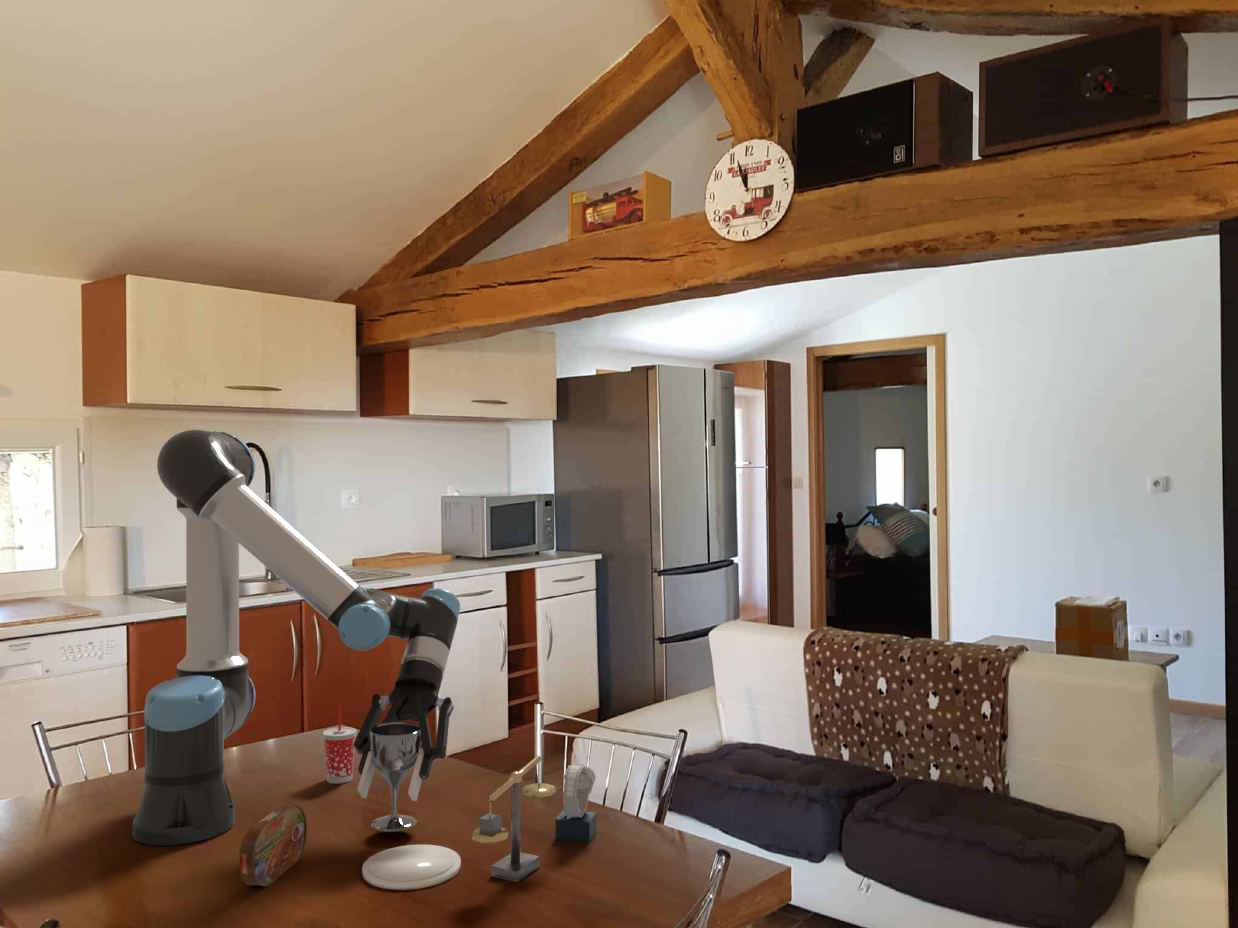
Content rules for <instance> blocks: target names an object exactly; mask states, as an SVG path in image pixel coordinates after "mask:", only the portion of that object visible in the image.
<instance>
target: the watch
mask: <svg viewBox="0 0 1238 928" xmlns="http://www.w3.org/2000/svg"><path fill="white" fill-rule="evenodd" d="M562 780H564V782H563V797H562V804H563V809H562V811H561V812H560V813H559V814H558V816H557V817H556V818H555V840H561V841H562V840H563V841H573V842H585V843H590V842H591V841H592V839H593V837H594V836H595V835H596V833H597V812H593V811H587V807H588V803H589V795H591V793H592V790H593V786H594V784H595V781H596V773H595V771H594V770H593V769H592V768H591V767H589V766H587V765H585V764H582V763H573V764H569V765H568V766H567V768H566V771H565V774H564V773H562Z"/></svg>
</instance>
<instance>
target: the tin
mask: <svg viewBox="0 0 1238 928" xmlns="http://www.w3.org/2000/svg"><path fill="white" fill-rule="evenodd" d="M307 830H308V826H307V819H306V814H305V811H304V810H303V809H302V807H300V806H299V805H290V806H285V805H284V806H279V807H277V808H275V809H274V810H273V811H271V812H269V813H268V814H267V815H265V816H264V817H263V818H262V819H260V820H258V821H257V822H256V823H254V824H253V825H252V826H250V827H249V828H248V830H246V832H245V834H244V835H243V838H242V840H241V843H240V847H239V850H238V851H239V852H238V855H239V871H240V872H239V873H240V878H241V880H242V881H243V883H244V884H246V885H247V886H253V887H254V886H255V887H256V886H257V887H259V886H260V887H268V886H270V885H272V884H273V883H274V882H275V881H277V879H279V878H280V877H281V876H283V874H284V873H286V872H287V871H288V870H289V869H291V868H292V867H293V866H294V865H295V864H297V862H298V861H299V860H300V858H301V857H302V854H303V853H304V849H305V847H306V841H307V832H308V831H307Z"/></svg>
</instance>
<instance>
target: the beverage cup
mask: <svg viewBox="0 0 1238 928" xmlns="http://www.w3.org/2000/svg"><path fill="white" fill-rule="evenodd" d="M337 705H338V707H337V708H338V713H337V714H338V719H337V720H338V721H337V722H338V724H337V725H338V727H333V728H332V727H331V728H329V729H326V730H323V732H322V738H323V739H324V755H325V768H326V769H325V770H326V771H325V772H326V781H327V782H328V783H329V784H344V783H348V782H350V781H352V780H353V777H354V776H353V774H354V759H355V758H354V757H355V747H354V742H355V740H356V737H357V729H356V728H354V727H349V726H347V727H346V726H345V727H344V726H343V727H342V704H337Z"/></svg>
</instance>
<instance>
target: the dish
mask: <svg viewBox="0 0 1238 928" xmlns="http://www.w3.org/2000/svg"><path fill="white" fill-rule="evenodd" d="M461 859H462V858H461V857H460V854H458V852H456V851H455V850H453V849H451V848H448V847H446V846H440V845H435V844H408V845H400V846H396V847H395V846H394V847H392V848H388V849H385V850H382V851H380V852H378V853H375V854H373V855H372V856H369V857H368V858H367V859H366V860H365V861H364V863H363V864H362V866H361V867H362V868H361V869H362V870H361V875H362V878H363V880H364V881H365V882H366V883H367V884H369V885H371V886H373V887H377V888H381V889H385V890H392V891H393V890H396V891H405V890H406V891H407V890H418V889H424V888H428V887H432V886H433V887H434V886H436V885H439V884H442V883H444V882H446V881H448V880H450V879H452V878H453V877H455V876H456V875H457V874H458V873H459V871H460V870H461V867H462V864H461V862H462V861H461Z"/></svg>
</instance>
